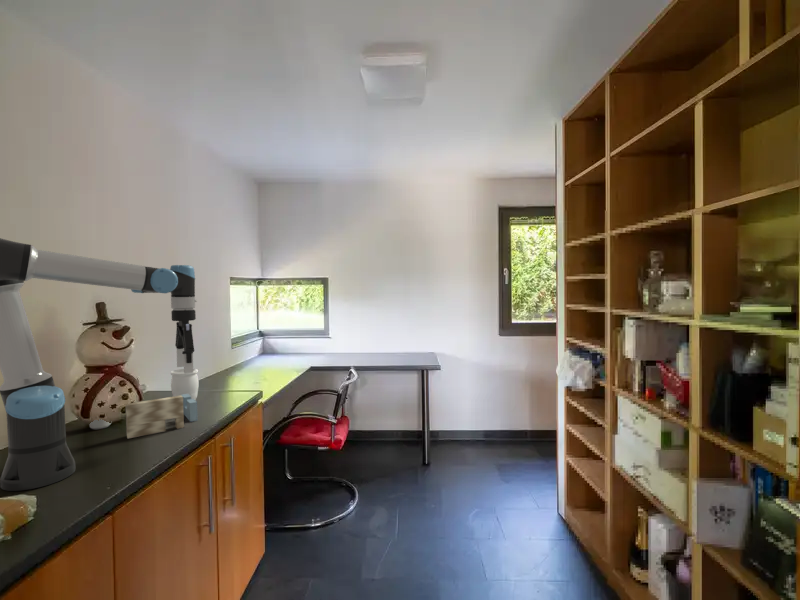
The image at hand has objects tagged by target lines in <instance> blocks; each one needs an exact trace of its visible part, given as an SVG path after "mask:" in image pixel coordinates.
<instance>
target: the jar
mask: <svg viewBox="0 0 800 600" xmlns="http://www.w3.org/2000/svg"><path fill="white" fill-rule="evenodd" d="M198 373H199V369H197V368H193V372H190V373H184V368H181V369H175V370H171V371H170V375H171V380H170V381H171V382H170V389H171V394H172V397H174V396H180V395H183V394H189V395H190V396H191V399H194V400H195V401H197V398H198V393H199V388H200V387H199V384H200V383H199V376H198Z"/></svg>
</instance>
